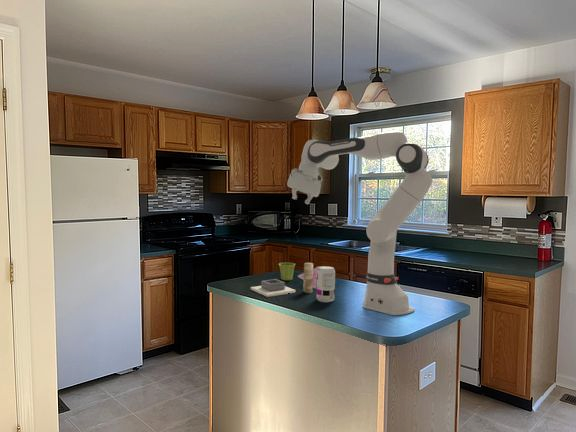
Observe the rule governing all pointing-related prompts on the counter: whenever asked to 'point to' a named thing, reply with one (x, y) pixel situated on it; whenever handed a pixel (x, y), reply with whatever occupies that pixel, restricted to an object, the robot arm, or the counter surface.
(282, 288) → the docking plate
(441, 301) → the counter surface
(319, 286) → the supplement can
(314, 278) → the lily
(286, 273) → the plant pot
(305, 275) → the beech peg
